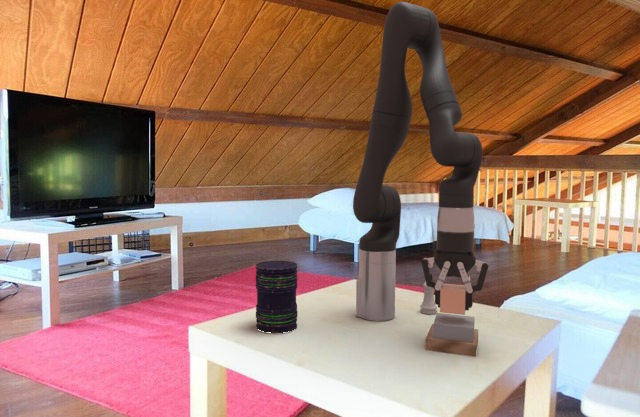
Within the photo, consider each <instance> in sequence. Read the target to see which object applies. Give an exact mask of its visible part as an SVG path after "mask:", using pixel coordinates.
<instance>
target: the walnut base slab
mask: <svg viewBox="0 0 640 417" xmlns="http://www.w3.org/2000/svg"><path fill="white" fill-rule="evenodd" d="M433 324H434V323H432V324H431V326H430V327H429V330H428V332H427V335H426V336H425V346H424V350H425V351H428V352H429V351H430V352H437V353H446V354H451V355H458V356H459V355H461V356H467V357H474V358H476V357H477V351H478V343H479V329H477V328H474V340H473V343H471V342H462V341H454V340H445V339H437V338H433Z"/></svg>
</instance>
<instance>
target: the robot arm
mask: <svg viewBox="0 0 640 417" xmlns="http://www.w3.org/2000/svg"><path fill="white" fill-rule="evenodd" d="M439 24H440V23H439V21H438V18H437V16H436V14H435V13H434V12H433V11H432V10H431V9H429V8H427V7H424V6H420V5H417V4H413V3H410V2H406V1H397V2H396V3H395V4H393V5H392V6H391V7H390V9H389V11H388V12H387V15H386V18H385V21H384V25H383V33H382V43H381V54H380V56H381V57H380V66H379V75H378V80H377V88H376V92H375V99H374V104H373V108H372V113H371V119H370V125H369V131H368V137H367V142H366V147H365V148H366V149H365V152H364V157H363V162H362V165H361V169H360V173H359V176H358V180H357V183H356V185H355V186H356V187H355V191H354V194H353V200H352V209H353V214H354V216H355V219H356V220H358V222H360V223H364V224H371V227H370V229H369V230H368V232H366V233H365V234H363V235H362V236H361V237H360V238H359V240H358V241H359V244H358V254H359V255H358V278H357V279H356V280H355V281H356V283H355V284H356V285H355V286H356V288H355V289H356V290H355V291H356V293H355V295H356V296H355V297H356V298H355V300H356V302H355V303H356V304H355V305H356V306H355V316H356V318H357V317H359V318H361V319H364V320H368V321H377V322H378V321H379V322H382V321H383V322H384V321H389V320H392V319H394V318H395V316H396V267H397V265H396V264H397V263H396V262H397V260H396V255H397V244H398V240H399V237H400V231H401V230H400V229H401V216H402V215H401V214H402V203H401V197H400V194H399V192H398V191H397V189H396V188H395V187H393V186H391V185H387V184H386V185H383V183H384V180H385V175H386V172H387V170H388V168H389V166H390V163H391V162H392V161H393V159H394V158H395V156H396V155H397V154H398V152H399V151H400V150H401V149H402V147H403V145H404V143H405V141H406V140H407V137H408V135H409V134H408V133H409V131H410V125H411V121H412V116H413V102H412V97H411V92H410V89H409V86H408V83H407V77H406V59H407V52H408V49H410V50H414V51H415V53H416V54H417V56H418V58H419V59H420V62H421V66H422V75H421V80H420V86H419V87H420V88H419V92H420V99H421V103H422V107H423V110H424V112H425V115H426V117H427V120H428V125H429V126H428V130H429V146H430V148H429V149H430V153H431V155H432V157H433V159H434V160H435V161H436V163H437V164H439V165H440V166H442V167H446V168H447V167H449V168H451V167H452V168H453V170H452V172H451V176H449V177H448V178H445V179H443V180H441V181H440V182H439V188H438V210H437V218H436V253H435V255H434V256H433V257H424V258H423V259H422V260H421V262H420V263H421V266H422V267H421V268H422V272H423V274H424V279H425V281H426V285H427V286H428V287H432V288H434V302H435V305H436V306H437V308H439V309H440V289H441V287H442V285H443V284H444V282H445V280H446V278H447V277H451V278H452V277H456V278H460V279H462V282H463V285H465V287H466V290H467V291H466V304H465V310H466V311H469V310H470V309H471V308H472V307H473V303H474V302H473V301H474V299H473V297H474V296H473V295H474V293H475V292H481V291H482V289H483V285H484V282H485V279H486V276H487V272H488V269H489V266H490V265H489V262H488V261H481V260H477V258H476V256H475V254H474V252H475V251H474V249H475V228H476V224H475V210H474V209H475V208H474V204H475V203H474V200H475V198H474V197H475V195H474V194H475V193H474V192H475V189H474V188H475V185H476V183H477V179H478V177H479V171H480V168H481V164H482V161H483V153H484V148H483V145H482V142H481V140H480V138H479V137H478V135H476V134H473V133H470V132H457V131H455V128H454V127H455V126H456V125H457V124H458V123H460V122H461V120H462V117H463V112H462V108H461V106H460V103H459V101H458V97H457V95H456V92H455V90H454V87H453V84H452V81H451V78H450V75H449V72H448V68H447V67H448V66H447V60H446V57H445V56H446V55H445V52H444V51H445V50H444V45H443V41H442V36H441V35H442V34H441V30H440V26H439ZM434 263H435V264H436V266H437V268H438V269H439V270H440V274H439V276H438V278H437V281H436V280H434V278H433V273H432V267H433V266H434ZM474 266H476V270H477V272H479V275H478V278H477V281H476V283H473V282H472V280H471V277H470V274H469V272H470V271H471V269H472V268H473V267H474Z"/></svg>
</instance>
